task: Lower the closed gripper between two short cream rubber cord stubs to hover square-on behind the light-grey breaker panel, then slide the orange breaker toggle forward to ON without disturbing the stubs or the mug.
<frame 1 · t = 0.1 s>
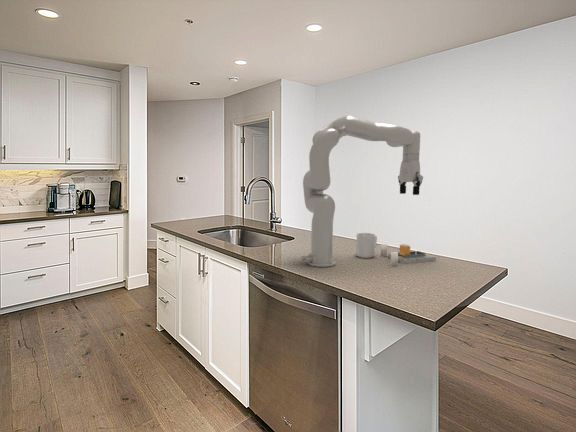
hand: (409, 194, 176), 31 cm above the worktop, fingers open, 9 cm apart
post far: (383, 256, 182), on the worktop
post near: (394, 265, 163), on the worktop
toggle: (404, 249, 174), point 5 cm above the worktop, slide at 0.0 cm
panel: (411, 259, 176), on the worktop
mug: (367, 256, 182), on the worktop
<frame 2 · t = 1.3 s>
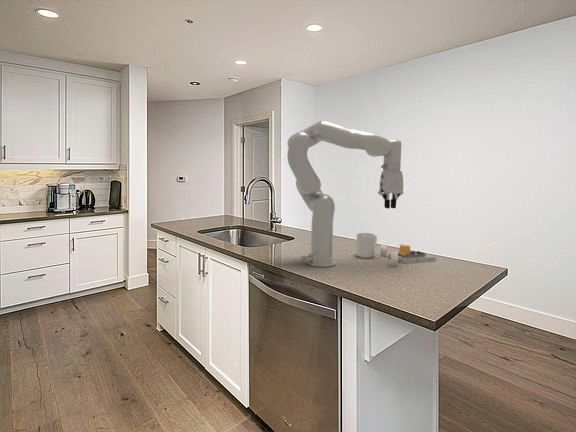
hand: (390, 207, 169), 25 cm above the worktop, fingers closed
nothing on the worktop moved.
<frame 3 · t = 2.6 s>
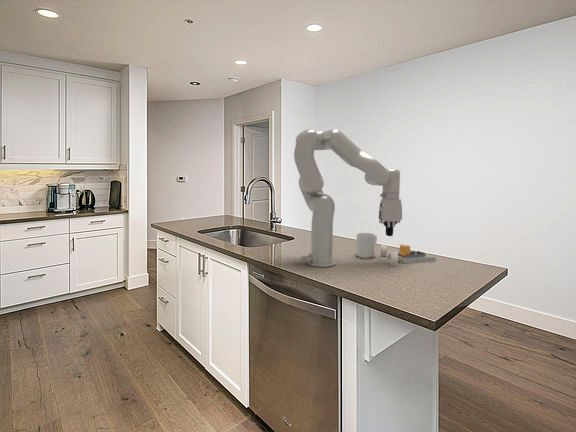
hand: (389, 235, 170), 12 cm above the worktop, fingers closed
nothing on the worktop moved.
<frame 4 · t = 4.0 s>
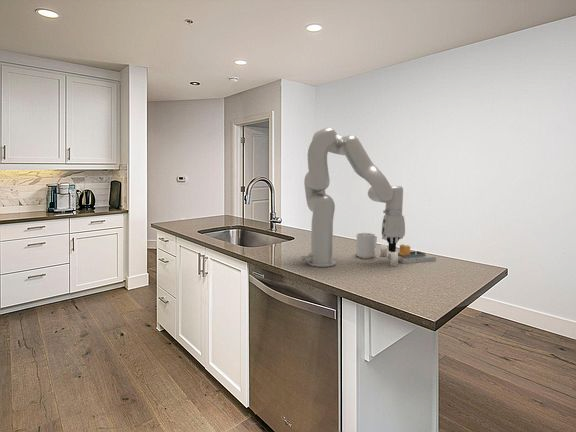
hand: (392, 251, 172), 5 cm above the worktop, fingers closed
nothing on the worktop moved.
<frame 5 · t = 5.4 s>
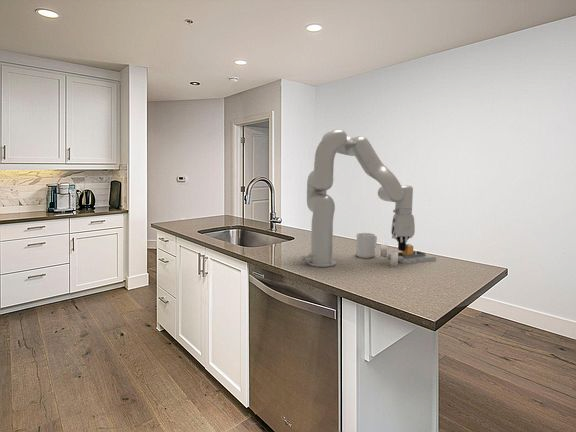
hand: (401, 250, 173), 5 cm above the worktop, fingers closed
toggle: (407, 249, 174), point 5 cm above the worktop, slide at 1.7 cm, touching gripper
everything else where it was.
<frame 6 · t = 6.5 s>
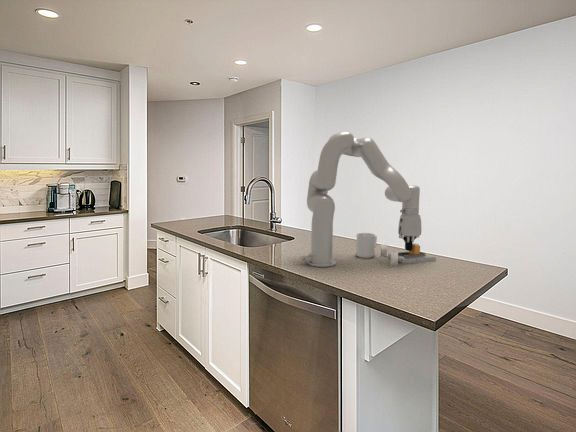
hand: (408, 250, 174), 5 cm above the worktop, fingers closed
toggle: (414, 249, 175), point 5 cm above the worktop, slide at 5.5 cm, touching gripper
everything else where it was.
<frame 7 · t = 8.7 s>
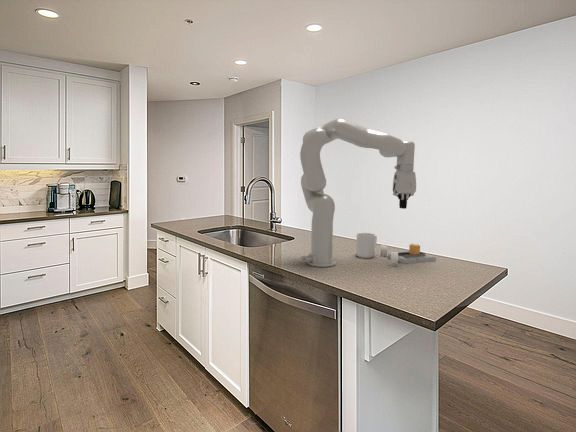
hand: (402, 208, 171), 25 cm above the worktop, fingers closed
toggle: (414, 249, 175), point 5 cm above the worktop, slide at 5.5 cm
everything else where it was.
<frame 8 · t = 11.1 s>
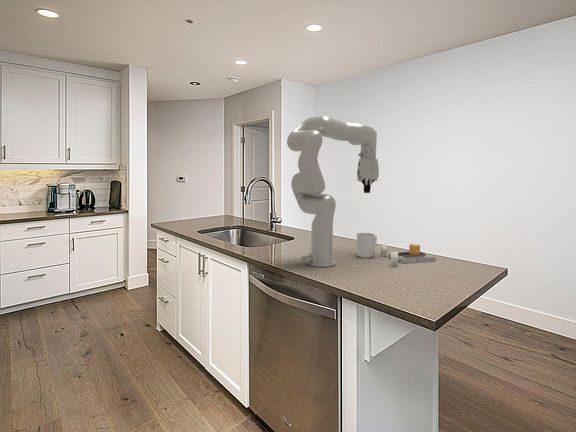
hand: (366, 192, 184), 31 cm above the worktop, fingers closed
nothing on the worktop moved.
at the end: toggle slide at 5.5 cm; post near moved 0.0 cm from its start; post far moved 0.0 cm from its start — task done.
